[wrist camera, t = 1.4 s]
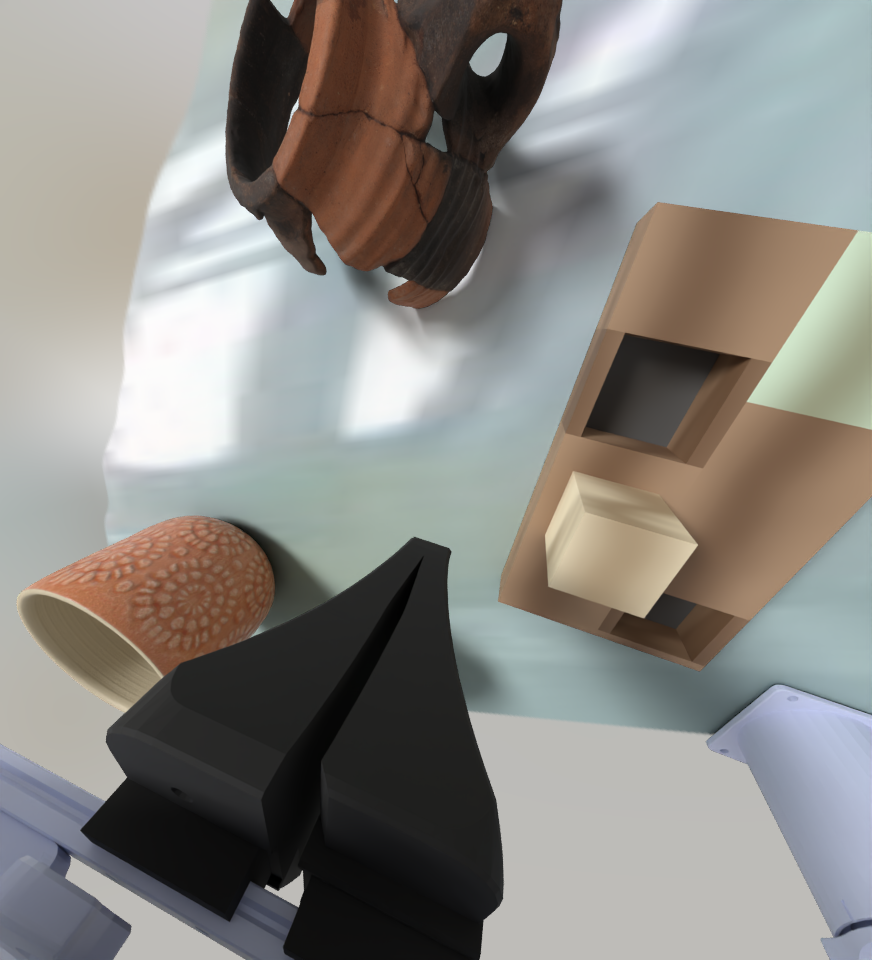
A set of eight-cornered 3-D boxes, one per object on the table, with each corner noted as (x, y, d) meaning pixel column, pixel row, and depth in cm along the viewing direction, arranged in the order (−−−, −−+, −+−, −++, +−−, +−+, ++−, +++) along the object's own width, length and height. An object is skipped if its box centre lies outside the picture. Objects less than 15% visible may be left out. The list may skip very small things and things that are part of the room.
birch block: (659, 494, 15) (698, 545, 11) (620, 558, 17) (643, 618, 13) (572, 471, 16) (585, 512, 12) (544, 534, 17) (548, 586, 14)
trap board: (989, 277, 11) (1098, 264, 9) (682, 635, 21) (699, 671, 18) (636, 223, 13) (657, 202, 11) (501, 575, 22) (498, 601, 20)
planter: (191, 579, 33) (56, 680, 24) (169, 479, 28) (-21, 558, 18) (295, 623, 32) (194, 749, 22) (295, 525, 26) (157, 640, 16)
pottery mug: (384, 351, 19) (224, 287, 12) (364, 203, 19) (203, 68, 13) (613, 213, 11) (519, -135, 5) (566, -16, 12) (430, -588, 6)
